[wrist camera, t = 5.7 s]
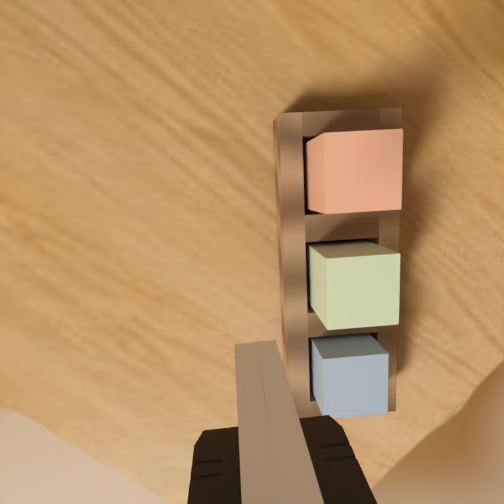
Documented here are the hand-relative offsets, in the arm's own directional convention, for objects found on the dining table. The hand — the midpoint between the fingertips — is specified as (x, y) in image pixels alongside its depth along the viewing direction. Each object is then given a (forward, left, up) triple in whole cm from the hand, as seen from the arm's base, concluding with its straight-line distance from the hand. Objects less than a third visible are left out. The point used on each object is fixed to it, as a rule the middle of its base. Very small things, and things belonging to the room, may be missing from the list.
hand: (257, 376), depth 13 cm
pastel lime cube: (+2, +10, -22) cm, 24 cm away
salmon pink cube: (-7, +10, -22) cm, 25 cm away
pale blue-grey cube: (+12, +10, -24) cm, 28 cm away
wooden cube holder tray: (+2, +10, -24) cm, 26 cm away
